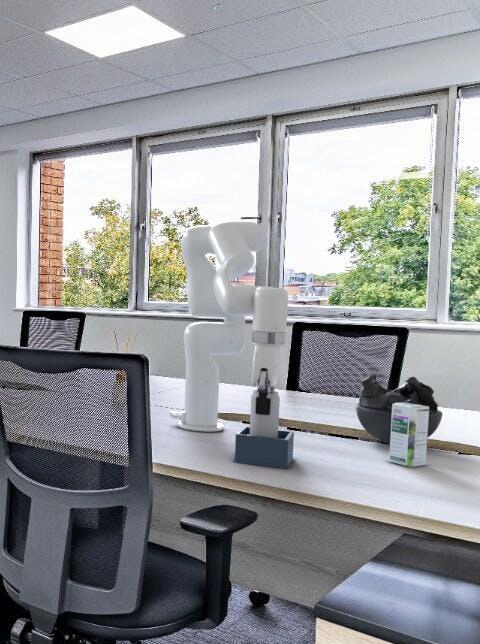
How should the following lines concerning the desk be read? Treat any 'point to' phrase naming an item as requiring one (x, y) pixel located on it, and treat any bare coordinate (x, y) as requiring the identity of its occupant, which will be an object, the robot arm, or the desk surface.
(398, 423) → the syrup box
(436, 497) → the desk surface
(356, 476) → the desk surface
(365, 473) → the desk surface
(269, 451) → the desk bin
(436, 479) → the desk surface
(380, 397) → the bowl of black rocks
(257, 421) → the beverage can
